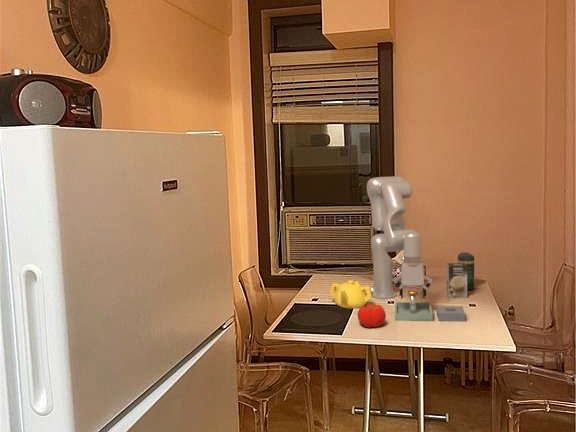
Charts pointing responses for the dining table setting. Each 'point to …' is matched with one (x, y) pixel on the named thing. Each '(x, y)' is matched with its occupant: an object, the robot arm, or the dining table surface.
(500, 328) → the dining table surface
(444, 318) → the grey square hole block
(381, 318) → the tomato
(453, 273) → the coffee box
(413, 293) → the orange knob peg
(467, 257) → the coffee jar
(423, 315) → the tray
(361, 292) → the teapot
